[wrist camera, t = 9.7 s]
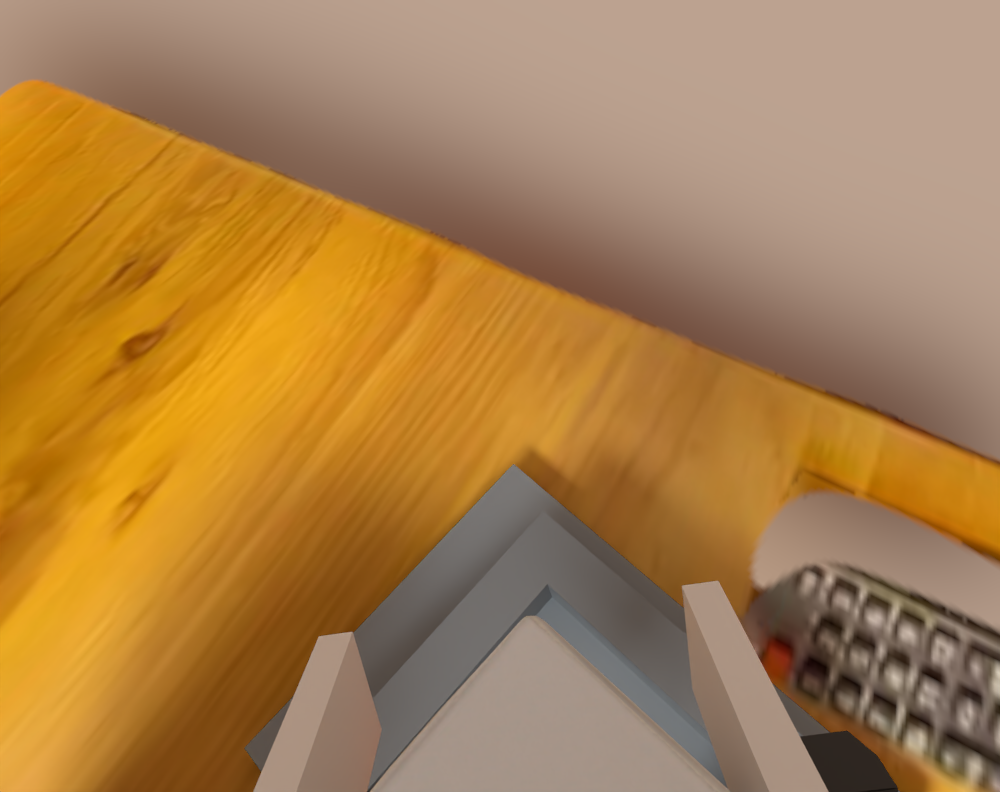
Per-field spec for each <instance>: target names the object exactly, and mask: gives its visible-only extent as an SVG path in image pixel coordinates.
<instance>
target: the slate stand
mask: <svg viewBox="0 0 1000 792" xmlns="http://www.w3.org/2000/svg"><path fill="white" fill-rule="evenodd" d="M526 616H537V617H539V618H541V619H542V620H544V621H545V622H546V623H548V624H549V625H550V626H551V627H552V628H553V629H554V630H555V631H556V632H557V633H558V634H560V635H561V636H562V637H563V638H564V639H565V640H566V641H567V642H568V643H569V644H570V645H572V646H573V647H574V648H575V649H576V650H577V651H578V652H579V653H580V654H581V655H582V656H584V657H585V658H586V659H587V660H588V661H589V662H590V663H591V664H592V665H593V666H594V667H596V668H597V669H598V670H599V671H600V672H601V673H602V674H603V675H604V676H605V677H606V678H608V679H609V680H610V681H611V682H612V683H613V684H614V685H615V686H616V687H617V688H618V689H620V690H621V691H622V692H623V693H624V694H625V695H626V696H627V697H628V698H629V699H630V700H631V701H633V702H634V703H635V704H636V705H637V706H638V707H639V708H640V709H641V710H642V711H643V712H645V713H646V714H647V715H648V716H649V717H650V718H651V719H652V720H653V721H654V722H655V723H657V724H658V725H659V726H660V727H661V728H662V729H663V730H664V731H665V732H666V733H667V734H668V735H670V736H671V737H672V738H673V739H674V740H675V741H676V742H677V743H678V744H679V745H680V746H682V747H683V748H684V749H685V750H686V751H687V752H688V753H689V754H690V755H691V756H692V757H694V758H695V759H696V760H697V761H698V762H699V763H700V764H701V765H702V766H703V767H704V768H705V769H707V770H708V771H709V772H710V773H711V774H712V775H713V776H714V777H715V778H716V779H717V780H719V781H720V782H721V783H722V784H723V785H724V786H725V787H726V788H727V789H728V787H727V785H726V782H725V779H724V776H723V773H722V771H721V768H720V765H719V762H718V759H717V757H716V754H715V751H714V748H713V745H712V743H711V740H710V737H709V734H708V732H707V729H706V726H705V723H704V720H703V718H702V715H701V712H700V709H699V706H698V704H697V701H696V698H695V695H694V692H693V690H692V680H691V670H690V661H689V651H688V641H687V632H686V622H685V612H684V608H683V607H682V606H680V605H679V604H678V603H677V602H676V601H675V600H673V599H672V598H671V597H670V596H669V595H667V594H666V593H665V592H664V591H663V590H662V589H660V588H659V587H658V586H657V585H656V584H654V583H653V582H652V581H651V580H650V579H649V578H647V577H646V576H645V575H644V574H643V573H642V572H640V571H639V570H638V569H637V568H636V567H634V566H633V565H632V564H631V563H630V562H629V561H627V560H626V559H625V558H624V557H623V556H621V555H620V554H619V553H618V552H617V551H616V550H614V549H613V548H612V547H611V546H610V545H609V544H607V543H606V542H605V541H604V540H603V539H601V538H600V537H599V536H598V535H597V534H596V533H594V532H593V531H592V530H591V529H590V528H589V527H587V526H586V525H585V524H584V523H583V522H581V521H580V520H579V519H578V518H577V517H576V516H574V515H573V514H572V513H571V512H570V511H568V510H567V509H566V508H565V507H564V506H563V505H561V504H560V503H559V502H558V501H557V500H556V499H554V498H553V497H552V496H551V495H550V494H548V493H547V492H546V491H545V490H544V489H543V488H541V487H540V486H539V485H538V484H537V483H535V482H534V481H533V480H532V479H531V478H530V477H528V476H527V475H526V474H525V473H524V472H523V471H521V470H520V469H519V468H518V467H517V466H515V465H514V464H513V465H512V466H511V467H510V468H509V469H508V470H507V471H506V472H505V473H504V474H503V475H502V477H501V478H500V479H499V480H498V481H497V482H496V483H495V484H494V485H493V486H492V487H491V488H490V489H489V490H488V491H487V492H486V493H485V494H484V496H483V497H482V498H481V499H480V500H479V501H478V502H477V503H476V504H475V505H474V506H473V507H472V508H471V509H470V510H469V511H468V512H467V513H466V515H465V516H464V517H463V518H462V519H461V520H460V521H459V522H458V523H457V524H456V525H455V526H454V527H453V528H452V529H451V530H450V531H449V532H448V534H447V535H446V536H445V537H444V538H443V539H442V540H441V541H440V542H439V543H438V544H437V545H436V546H435V547H434V548H433V549H432V550H431V551H430V553H429V554H428V555H427V556H426V557H425V558H424V559H423V560H422V561H421V562H420V563H419V564H418V565H417V566H416V567H415V568H414V569H413V570H412V572H411V573H410V574H409V575H408V576H407V577H406V578H405V579H404V580H403V581H402V582H401V583H400V584H399V585H398V586H397V587H396V588H395V589H394V591H393V592H392V593H391V594H390V595H389V596H388V597H387V598H386V599H385V600H384V601H383V602H382V603H381V604H380V605H379V606H378V607H377V608H376V610H375V611H374V612H373V613H372V614H371V615H370V616H369V617H368V618H367V619H366V620H365V621H364V622H363V623H362V624H361V625H360V626H359V627H358V629H357V630H356V631H355V632H354V633H353V634H354V638H355V641H356V644H357V648H358V651H359V655H360V658H361V661H362V665H363V668H364V671H365V675H366V678H367V682H368V685H369V688H370V692H371V695H372V699H373V702H374V705H375V709H376V712H377V715H378V719H379V722H380V726H381V729H382V730H381V734H380V739H379V743H378V747H377V751H376V756H375V760H374V764H373V768H372V773H371V777H370V781H369V785H368V790H367V792H370V791H371V790H372V788H373V787H374V786H375V785H376V783H377V782H378V781H379V780H380V779H381V777H382V776H383V775H384V774H385V772H386V771H387V770H388V769H389V768H390V766H391V765H392V764H393V763H394V762H395V761H396V759H397V758H398V757H399V756H400V755H401V754H402V753H403V751H404V750H405V749H406V748H407V747H408V746H409V745H410V743H411V742H412V741H413V740H414V739H415V738H416V737H417V735H418V734H419V733H420V732H421V731H422V730H423V728H424V727H425V726H426V725H427V724H428V723H429V722H430V720H431V719H432V718H433V717H434V716H435V715H436V714H437V712H438V711H439V710H440V709H441V708H442V707H443V706H444V705H445V704H446V702H447V701H448V700H449V699H450V698H451V697H452V696H453V695H454V694H455V693H456V691H457V690H458V689H459V688H460V687H461V686H462V685H463V684H464V683H465V682H466V680H467V679H468V678H469V677H470V676H471V675H472V674H473V673H474V672H475V671H476V670H477V668H478V667H479V666H480V665H481V664H482V663H483V662H484V661H485V660H486V659H487V658H488V656H489V655H490V654H491V653H492V652H493V651H494V650H495V649H496V648H497V646H498V645H499V644H500V643H501V642H502V641H503V640H504V639H505V637H506V636H507V635H508V634H509V633H510V632H511V631H512V629H513V628H514V627H515V626H516V625H517V624H518V623H519V622H520V620H522V619H523V618H524V617H526ZM773 686H774V688H775V690H776V692H777V694H778V696H779V698H780V700H781V702H782V704H783V705H784V707H785V709H786V711H787V713H788V715H789V717H790V719H791V721H792V723H793V725H794V727H795V728H796V730H797V732H798V734H799V736H808V735H816V734H824V733H830V732H829V731H828V730H827V729H825V728H824V727H823V726H822V725H821V724H819V723H818V722H817V721H816V720H815V719H814V718H812V717H811V716H810V715H809V714H808V713H806V712H805V711H804V710H803V709H802V708H801V707H799V706H798V705H797V704H796V703H795V702H794V701H792V700H791V699H790V698H789V697H788V696H786V695H785V694H784V693H783V692H782V691H781V690H779V689H778V688H777V687H776V686H775V685H774V684H773ZM292 699H293V697H292V698H291V699H290V700H289V701H288V702H287V703H286V705H285V706H284V707H283V708H282V709H281V710H280V711H279V712H278V713H277V714H276V715H275V716H274V717H273V718H272V719H271V720H270V721H269V722H268V724H267V725H266V726H265V727H264V728H263V729H262V730H261V731H260V732H259V733H258V734H257V735H256V736H255V737H254V738H253V739H252V740H251V741H250V743H249V744H248V745H247V746H246V747H245V750H246V751H247V753H248V754H249V755H250V757H251V758H252V760H253V761H254V762H255V764H256V765H257V767H258V768H259V769H260V771H261V772H262V770H263V767H264V765H265V763H266V760H267V758H268V755H269V753H270V751H271V748H272V746H273V744H274V741H275V739H276V737H277V734H278V732H279V729H280V727H281V725H282V722H283V720H284V718H285V715H286V713H287V711H288V708H289V706H290V703H291V701H292ZM899 792H900V791H899Z"/></svg>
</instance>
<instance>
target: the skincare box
mask: <svg viewBox="0 0 1000 792" xmlns="http://www.w3.org/2000/svg"><path fill="white" fill-rule="evenodd" d="M370 792H730V791H729V790H728V789H727V788H726V787H725V786H724V785H723V784H722V783H721V782H720V781H719V780H717V779H716V778H715V777H714V776H713V775H712V774H711V773H710V772H709V771H708V770H707V769H705V768H704V767H703V766H702V765H701V764H700V763H699V762H698V761H697V760H696V759H695V758H694V757H692V756H691V755H690V754H689V753H688V752H687V751H686V750H685V749H684V748H683V747H682V746H680V745H679V744H678V743H677V742H676V741H675V740H674V739H673V738H672V737H671V736H670V735H668V734H667V733H666V732H665V731H664V730H663V729H662V728H661V727H660V726H659V725H658V724H657V723H655V722H654V721H653V720H652V719H651V718H650V717H649V716H648V715H647V714H646V713H645V712H643V711H642V710H641V709H640V708H639V707H638V706H637V705H636V704H635V703H634V702H633V701H631V700H630V699H629V698H628V697H627V696H626V695H625V694H624V693H623V692H622V691H621V690H620V689H618V688H617V687H616V686H615V685H614V684H613V683H612V682H611V681H610V680H609V679H608V678H606V677H605V676H604V675H603V674H602V673H601V672H600V671H599V670H598V669H597V668H596V667H594V666H593V665H592V664H591V663H590V662H589V661H588V660H587V659H586V658H585V657H584V656H582V655H581V654H580V653H579V652H578V651H577V650H576V649H575V648H574V647H573V646H572V645H570V644H569V643H568V642H567V641H566V640H565V639H564V638H563V637H562V636H561V635H560V634H558V633H557V632H556V631H555V630H554V629H553V628H552V627H551V626H550V625H549V624H548V623H546V622H545V621H544V620H542V619H541V618H539V617H537V616H526V617H524V618H523V619H522V620H520V622H519V623H518V624H517V625H516V626H515V627H514V628H513V629H512V631H511V632H510V633H509V634H508V635H507V636H506V637H505V639H504V640H503V641H502V642H501V643H500V644H499V645H498V646H497V648H496V649H495V650H494V651H493V652H492V653H491V654H490V655H489V656H488V658H487V659H486V660H485V661H484V662H483V663H482V664H481V665H480V666H479V667H478V668H477V670H476V671H475V672H474V673H473V674H472V675H471V676H470V677H469V678H468V679H467V680H466V682H465V683H464V684H463V685H462V686H461V687H460V688H459V689H458V690H457V691H456V693H455V694H454V695H453V696H452V697H451V698H450V699H449V700H448V701H447V702H446V704H445V705H444V706H443V707H442V708H441V709H440V710H439V711H438V712H437V714H436V715H435V716H434V717H433V718H432V719H431V720H430V722H429V723H428V724H427V725H426V726H425V727H424V728H423V730H422V731H421V732H420V733H419V734H418V735H417V737H416V738H415V739H414V740H413V741H412V742H411V743H410V745H409V746H408V747H407V748H406V749H405V750H404V751H403V753H402V754H401V755H400V756H399V757H398V758H397V759H396V761H395V762H394V763H393V764H392V765H391V766H390V768H389V769H388V770H387V771H386V772H385V774H384V775H383V776H382V777H381V779H380V780H379V781H378V782H377V783H376V785H375V786H374V787H373V788H372V790H371V791H370Z"/></svg>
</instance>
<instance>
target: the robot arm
mask: <svg viewBox="0 0 1000 792" xmlns="http://www.w3.org/2000/svg"><path fill="white" fill-rule="evenodd" d="M682 593H683V603H684V612H685V622H686V632H687V641H688V651H689V661H690V670H691V680H692V690H693V692H694V695H695V698H696V701H697V704H698V706H699V709H700V712H701V715H702V718H703V720H704V723H705V726H706V729H707V732H708V734H709V737H710V740H711V743H712V745H713V748H714V751H715V754H716V757H717V759H718V762H719V765H720V768H721V771H722V773H723V776H724V779H725V782H726V785H727V787H728V790H729V791H730V792H899V791H898V788H897V786H896V784H895V783H894V781H893V780H892V778H891V777H890V775H889V773H888V772H887V770H886V769H885V767H884V766H883V764H882V762H881V761H880V759H879V758H878V756H877V755H876V754H874V753H873V752H872V751H871V750H870V749H868V748H867V747H866V746H865V745H864V744H862V743H861V742H860V741H859V740H858V739H857V738H855V737H854V736H853V735H852V734H851V733H849V732H848V731H841V732H833V733H824V734H816V735H808V736H799V734H798V732H797V730H796V728H795V727H794V725H793V723H792V721H791V719H790V717H789V715H788V713H787V711H786V709H785V707H784V705H783V704H782V702H781V700H780V698H779V696H778V694H777V692H776V690H775V688H774V686H773V684H772V682H771V681H770V679H769V677H768V675H767V673H766V671H765V669H764V667H763V665H762V663H761V661H760V659H759V658H758V656H757V654H756V652H755V650H754V648H753V646H752V644H751V642H750V640H749V638H748V636H747V635H746V633H745V631H744V629H743V627H742V625H741V623H740V621H739V619H738V617H737V615H736V614H735V612H734V610H733V608H732V606H731V604H730V602H729V600H728V598H727V596H726V594H725V592H724V591H723V589H722V587H721V585H720V583H719V581H712V582H704V583H697V584H690V585H683V586H682ZM381 730H382V729H381V726H380V722H379V719H378V715H377V712H376V709H375V705H374V702H373V699H372V695H371V692H370V688H369V685H368V682H367V678H366V675H365V671H364V668H363V665H362V661H361V658H360V655H359V651H358V648H357V644H356V641H355V638H354V634H353V632H346V633H339V634H332V635H324V636H319V637H318V640H317V642H316V644H315V647H314V649H313V651H312V654H311V656H310V659H309V661H308V663H307V666H306V668H305V670H304V673H303V675H302V677H301V680H300V682H299V685H298V687H297V689H296V692H295V694H294V696H293V699H292V701H291V703H290V706H289V708H288V711H287V713H286V715H285V718H284V720H283V722H282V725H281V727H280V729H279V732H278V734H277V737H276V739H275V741H274V744H273V746H272V748H271V751H270V753H269V755H268V758H267V760H266V763H265V765H264V767H263V770H262V772H261V774H260V777H259V779H258V781H257V784H256V786H255V789H254V791H253V792H367V790H368V785H369V781H370V777H371V773H372V768H373V764H374V760H375V756H376V751H377V747H378V743H379V739H380V734H381Z"/></svg>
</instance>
